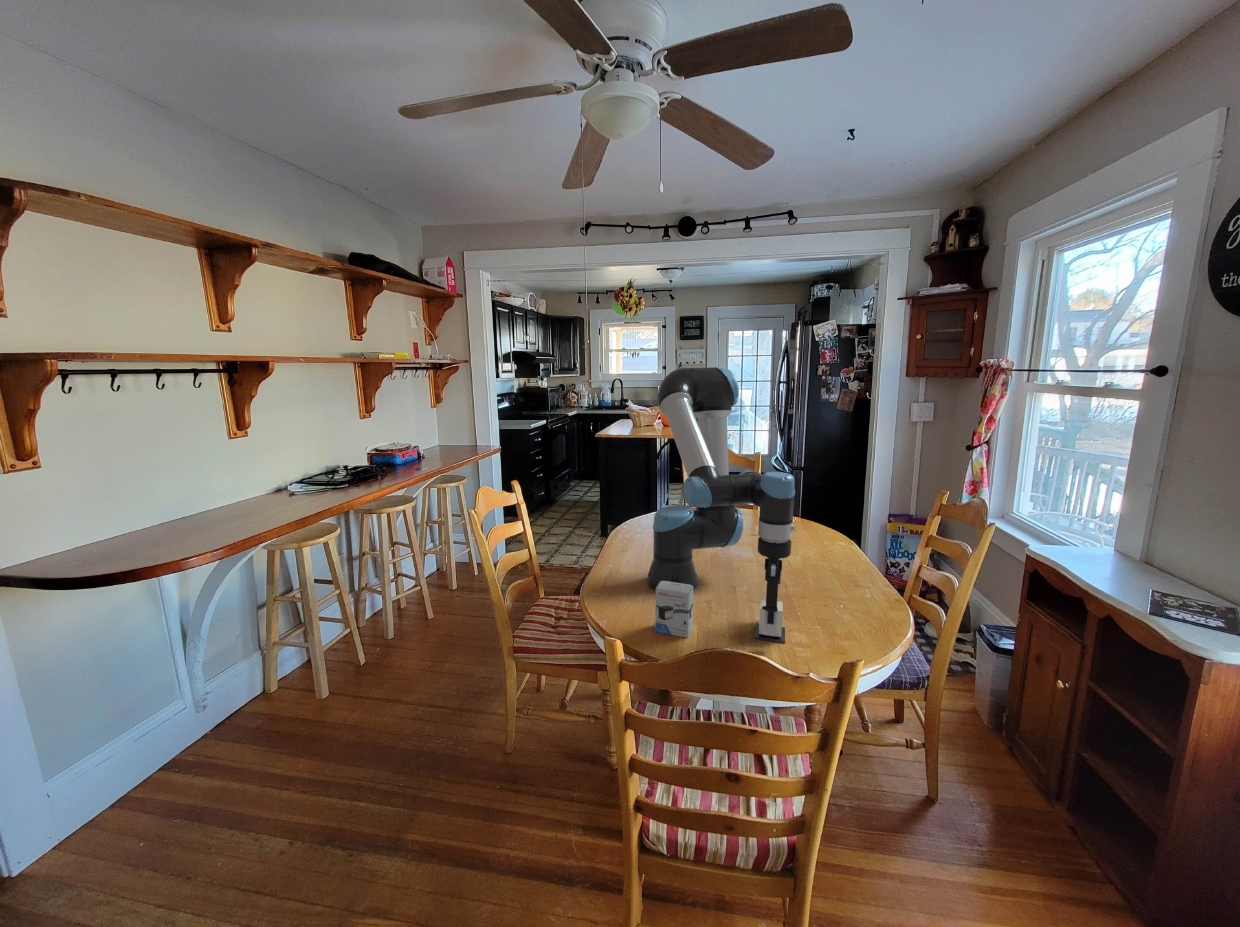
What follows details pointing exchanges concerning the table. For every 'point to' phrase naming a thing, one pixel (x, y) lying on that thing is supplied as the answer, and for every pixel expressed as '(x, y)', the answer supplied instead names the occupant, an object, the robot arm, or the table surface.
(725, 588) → the table surface
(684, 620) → the ink box
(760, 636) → the post
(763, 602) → the white upright block
